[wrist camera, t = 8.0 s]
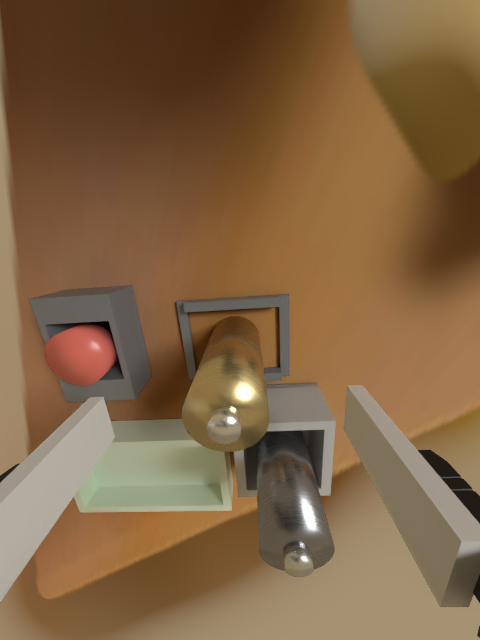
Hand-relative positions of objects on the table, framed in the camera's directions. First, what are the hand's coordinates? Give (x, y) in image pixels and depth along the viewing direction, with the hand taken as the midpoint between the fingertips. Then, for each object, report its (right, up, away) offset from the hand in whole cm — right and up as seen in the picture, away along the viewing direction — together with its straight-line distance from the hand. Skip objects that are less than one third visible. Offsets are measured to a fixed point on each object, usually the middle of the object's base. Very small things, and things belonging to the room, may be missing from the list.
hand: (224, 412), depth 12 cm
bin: (+5, -5, +11) cm, 13 cm away
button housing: (-11, +4, +9) cm, 15 cm away
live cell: (0, +3, +8) cm, 9 cm away
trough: (-9, -10, +13) cm, 19 cm away
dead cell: (+5, -5, +10) cm, 13 cm away
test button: (-11, +3, +6) cm, 13 cm away
